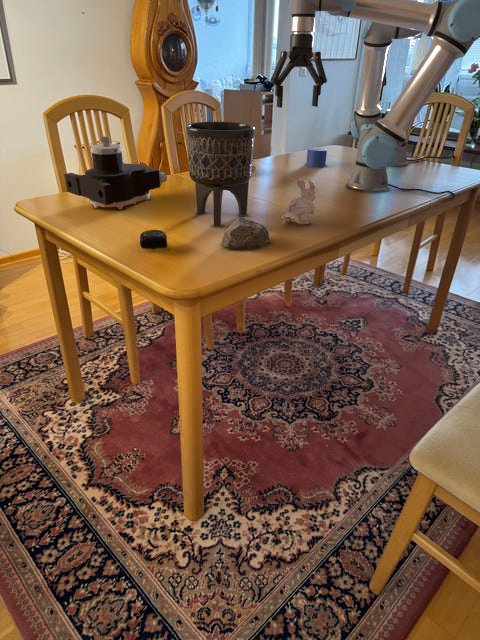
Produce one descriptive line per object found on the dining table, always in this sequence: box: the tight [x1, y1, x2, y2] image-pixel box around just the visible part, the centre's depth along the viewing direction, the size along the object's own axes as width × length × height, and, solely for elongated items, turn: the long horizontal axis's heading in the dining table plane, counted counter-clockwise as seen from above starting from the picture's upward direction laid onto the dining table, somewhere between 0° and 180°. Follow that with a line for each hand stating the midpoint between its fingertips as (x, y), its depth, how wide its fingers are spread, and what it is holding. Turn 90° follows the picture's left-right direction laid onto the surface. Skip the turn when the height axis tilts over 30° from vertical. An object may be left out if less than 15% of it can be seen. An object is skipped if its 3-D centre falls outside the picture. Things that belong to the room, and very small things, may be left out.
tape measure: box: [139, 229, 168, 250], centre depth 117 cm, size 7×7×4 cm
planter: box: [185, 121, 256, 227], centre depth 134 cm, size 20×20×26 cm
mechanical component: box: [63, 135, 168, 210], centre depth 149 cm, size 22×21×30 cm
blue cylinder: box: [305, 147, 328, 168], centre depth 211 cm, size 9×9×7 cm
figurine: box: [281, 177, 316, 225], centre depth 135 cm, size 8×15×13 cm, turn 145°
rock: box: [221, 216, 270, 250], centre depth 119 cm, size 13×9×6 cm, turn 131°
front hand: (297, 106), depth 156 cm, fingers open, 13 cm apart
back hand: (372, 99), depth 240 cm, fingers open, 13 cm apart
